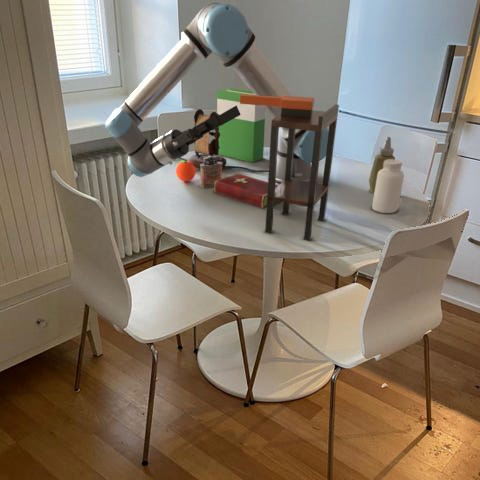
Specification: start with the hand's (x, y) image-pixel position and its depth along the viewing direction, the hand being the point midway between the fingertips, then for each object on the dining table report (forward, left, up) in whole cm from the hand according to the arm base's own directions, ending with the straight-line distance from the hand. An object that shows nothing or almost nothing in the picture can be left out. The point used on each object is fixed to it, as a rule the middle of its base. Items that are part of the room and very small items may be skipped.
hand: (228, 114), depth 140 cm
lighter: (-23, +13, -28) cm, 39 cm away
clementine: (-33, +9, -28) cm, 45 cm away
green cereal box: (-44, +46, -28) cm, 70 cm away
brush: (+13, +5, +2) cm, 14 cm away
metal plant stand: (+20, +9, -28) cm, 36 cm away
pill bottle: (+29, +41, -28) cm, 58 cm away
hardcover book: (-7, +16, -28) cm, 34 cm away
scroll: (-41, +26, -28) cm, 57 cm away
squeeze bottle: (+18, +54, -28) cm, 64 cm away
